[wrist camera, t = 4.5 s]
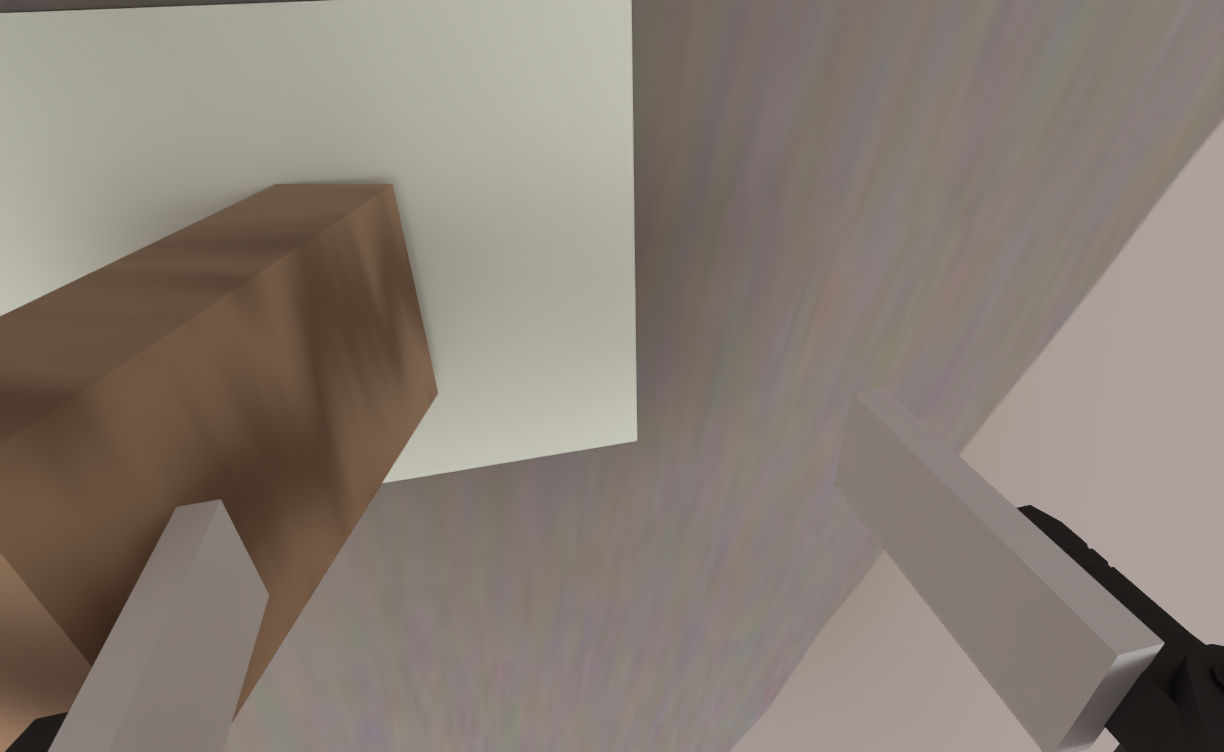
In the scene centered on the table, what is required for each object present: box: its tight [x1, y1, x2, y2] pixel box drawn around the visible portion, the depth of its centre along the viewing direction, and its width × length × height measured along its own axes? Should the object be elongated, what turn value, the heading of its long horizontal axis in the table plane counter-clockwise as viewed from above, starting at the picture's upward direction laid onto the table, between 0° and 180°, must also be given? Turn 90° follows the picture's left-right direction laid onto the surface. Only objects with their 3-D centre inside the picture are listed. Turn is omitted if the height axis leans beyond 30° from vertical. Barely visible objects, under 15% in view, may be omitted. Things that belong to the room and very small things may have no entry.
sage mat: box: [0, 0, 637, 483], centre depth 22 cm, size 18×30×1 cm, turn 92°
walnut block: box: [0, 184, 438, 752], centre depth 16 cm, size 8×4×14 cm, turn 2°
